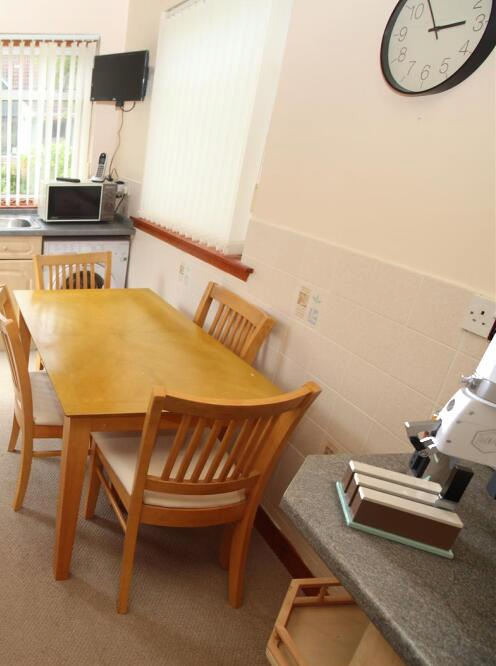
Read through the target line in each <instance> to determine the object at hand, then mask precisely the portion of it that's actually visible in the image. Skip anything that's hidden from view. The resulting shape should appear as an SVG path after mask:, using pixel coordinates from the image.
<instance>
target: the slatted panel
mask: <svg viewBox="0 0 496 666" xmlns="http://www.w3.org/2000/svg"><path fill="white" fill-rule="evenodd" d="M335 487H336V490H337V493H338V497H339V500H340V503H341V507H342V511H343V514H344V517H345V521H346V524H347V527H350V528H353V529H356V530H359V531H361V532H365V533H368V534H371V535H375V536H378V537H381V538H383V539H388V540H391V541H394V542H397V543H400V544H402V545H406V546H409V547H413V548H416V549H418V550H422V551H425V552H428V553H431V554H435V555H438V556H441V557H444V558H447V559H451V560H452V559H454V556H455V555H454V553H453V552H452V547H453V545H454V544H455V542H456V540H457V538H458V536H459V535H460V533H461V531H462V529H463V528H464V524H463V522H462V520H461V519H460V517H459V514H458V513H455V512H453V513H452V512H449V511H445V510H442V509H438V508H435V507H433V505H434V503H435V501H436V499H437V498H438V496H439V495H440V492H441V490H442V488H441V486H440V485H439V484H438V483H434V482H430V481H427V480H423V479H419V478H416V477H412V476H408V475H405V473H400V472H397V471H393V470H389V469H385V468H382V467H378V466H375V465H371V464H368V463H364V462H359V461H357V460H353V459H350V461H349V463H348V465H347V468H346V470H345V473H344V475H343V478H342V480H341V481H338V480H337V481H336V483H335Z"/></svg>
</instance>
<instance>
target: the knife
mask: <svg viewBox="0 0 496 666" xmlns="http://www.w3.org/2000/svg"><path fill="white" fill-rule="evenodd" d="M474 475H475V471H474V470H473V468H472V467H467V466H464V465H460V464H459V465H456V464H455V465H454V467H453V469H452V471H451V473H450V475H449V477H448V479H447V480H446V482H445V484H444V486H443V488H442V490H441V492H440V495H439V496H438V498H437V499H436V501H435V503H434V505H433V507H435V508H438V509H442V510H445V511H449V512H452V513H455V511H456V509H457V506H458V504H459V503H460V501H461V499H462V498H463V495H464V494H465V492H466V490H467V488H468V486H469V485H470V483H471V481H472V479H473V478H474Z"/></svg>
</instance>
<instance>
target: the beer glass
mask: <svg viewBox="0 0 496 666" xmlns="http://www.w3.org/2000/svg"><path fill="white" fill-rule="evenodd" d="M442 410H443V409H434V410H433V411H432V413H431V414H430V417H429V418H428V420H436V419H437V417H438V416H439V414H440V413H441V411H442ZM429 433H430V431H423V432H420V436H419V439H420V440H423V439H425V438H428V437H430V436H429ZM429 458H430V460H431V461H430V463H429V465H428V467H427V469H426V470H425V472H424V474H423V476H422V478H419V479H423V480H427V481H430V482H434V483H438V484H439V485H440V486H441V488H443V486H444V484H445V482H446V480H447V479H448V477H449V475H450V473H451V471H452V469H453V467H454V465H455V464H456V465H460V464H461V463H462V462H463V461H464V460H463V459H459V458H456V457H452V456H449V455H446V454H444V453H442V452H438V453H436V454H433V455H430V456H429ZM404 475H408V476H412V477H415V476H414V475H413V473H412V471H411V469H410V468H408V470H407V471H406V472H405V473H404Z"/></svg>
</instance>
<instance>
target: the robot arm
mask: <svg viewBox="0 0 496 666" xmlns="http://www.w3.org/2000/svg"><path fill="white" fill-rule="evenodd" d="M457 381H458V384H459V385H464V387H460V389H458V391H457V392H456V393H455V394H454V395H452V397H451V398H450V400H449V401H447V403H446V404H445V405H444V407H443V408H442V409H441V410H442V411H441V413H440V414H439V416H438V417H437V419H436V420H429V419H427V420H417V421H416V420H415V421H407V422H405V423H404V427H405V431H406V436H407V439H408V441H409V443H410V444H411V445H412V447H413V448H414V449H415V450H414V452H413V453H412V455H411V458H410V460H409V461H408V469H411V471H412V473H413V475H414V476H415V477H416V478H422V476H423V474H424V472H425V470H426V469H427V467H428V465H429V463H430V461H431V460H430V458H429V456H430V455H433V454H436V453H438V452H442V453H444V454H446V455H449V456H452V457H456V458H459V459H463V461H468V462H469V463H470V462H471V463H475V464H479V465H483V466H487V467H491V468H494V469H495V470H494V472H493V473H492V475H491V477H490V478H489V480H488V482H487V483H486V485H485V488H484V489H485V490H486V491H487V494H489V496H490V497H491V499H493V500H494V501H496V333H495V334H494V335H493V338H492V340H491V342H490V343H489V345H488V347H487V349H486V351H485V352H484V354H483V357H482V358H481V360H480V362H479V364H478V366H477V367H476V369H475V371H473V372H472V374H471V375H467V376H466V375H460V376H459V378H458V380H457ZM423 431H430V433H429V436H430V437H428V438H425V439H423V440H420V436H419V434H420V433H422V432H423Z"/></svg>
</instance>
